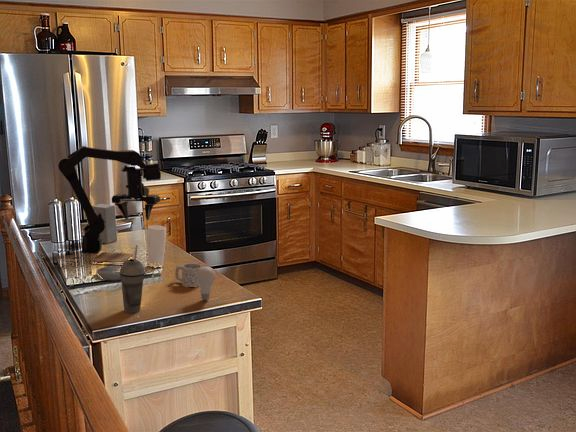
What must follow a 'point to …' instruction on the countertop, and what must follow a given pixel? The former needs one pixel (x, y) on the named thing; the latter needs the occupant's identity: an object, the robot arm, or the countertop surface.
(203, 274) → the lightbulb
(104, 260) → the square walnut board
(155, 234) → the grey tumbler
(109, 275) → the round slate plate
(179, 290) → the countertop surface
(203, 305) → the countertop surface
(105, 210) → the skincare box
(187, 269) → the mug
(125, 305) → the beverage cup
